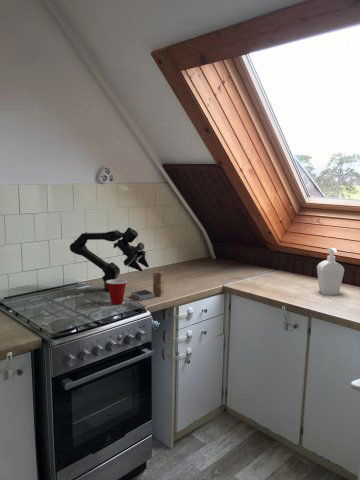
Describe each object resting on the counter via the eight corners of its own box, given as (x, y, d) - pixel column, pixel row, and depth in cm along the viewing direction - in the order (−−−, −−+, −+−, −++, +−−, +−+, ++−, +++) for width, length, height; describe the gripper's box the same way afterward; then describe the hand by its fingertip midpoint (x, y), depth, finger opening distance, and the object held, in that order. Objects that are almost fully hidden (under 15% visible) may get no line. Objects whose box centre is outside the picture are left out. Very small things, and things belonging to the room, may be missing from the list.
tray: (139, 301, 220) (139, 296, 220) (131, 296, 228) (131, 292, 227) (154, 297, 226) (154, 293, 225) (145, 293, 233) (145, 289, 233)
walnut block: (153, 295, 229) (153, 272, 227) (156, 293, 234) (156, 270, 231) (160, 296, 228) (160, 273, 226) (163, 294, 232) (163, 271, 230)
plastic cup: (128, 299, 223) (128, 277, 221) (126, 306, 212) (126, 283, 210) (107, 299, 222) (107, 277, 220) (105, 306, 212) (104, 283, 210)
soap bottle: (321, 296, 231) (324, 250, 226) (315, 290, 240) (318, 246, 236) (344, 296, 231) (347, 250, 227) (336, 290, 241) (339, 246, 237)
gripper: (128, 241, 221) (148, 262, 220) (141, 236, 239) (160, 255, 237) (115, 255, 225) (134, 276, 223) (129, 249, 243) (148, 268, 241)
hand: (145, 268), depth 231 cm, fingers open, 9 cm apart
